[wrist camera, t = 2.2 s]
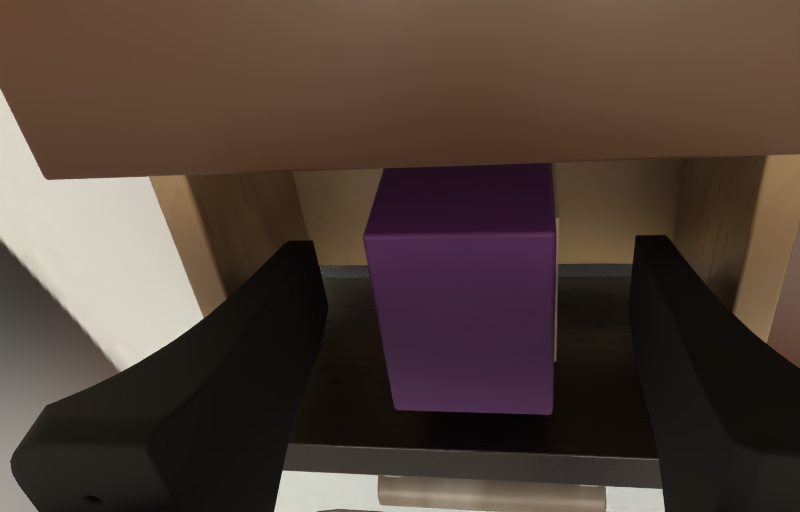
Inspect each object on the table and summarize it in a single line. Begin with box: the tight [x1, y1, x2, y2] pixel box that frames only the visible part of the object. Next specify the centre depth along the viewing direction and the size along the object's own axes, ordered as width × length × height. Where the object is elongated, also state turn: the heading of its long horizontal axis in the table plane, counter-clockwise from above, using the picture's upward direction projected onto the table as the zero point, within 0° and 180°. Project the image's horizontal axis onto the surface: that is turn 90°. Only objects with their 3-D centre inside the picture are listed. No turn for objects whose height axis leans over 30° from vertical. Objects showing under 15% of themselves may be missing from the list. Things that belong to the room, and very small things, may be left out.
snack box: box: [363, 163, 559, 415], centre depth 17 cm, size 5×4×6 cm
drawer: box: [149, 154, 800, 512], centre depth 18 cm, size 17×13×7 cm
